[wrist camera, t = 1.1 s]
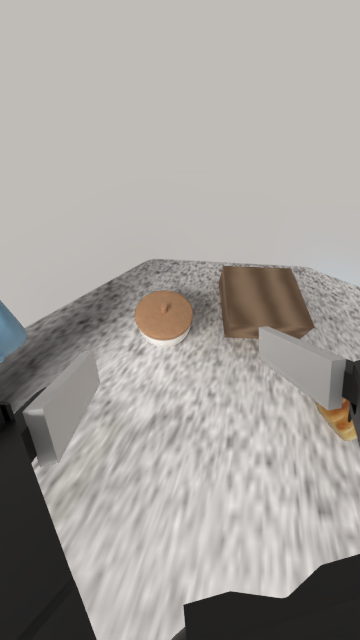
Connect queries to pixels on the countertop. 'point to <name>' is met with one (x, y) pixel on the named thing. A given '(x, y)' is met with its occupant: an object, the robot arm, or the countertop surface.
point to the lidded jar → (164, 318)
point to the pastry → (339, 420)
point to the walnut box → (262, 302)
